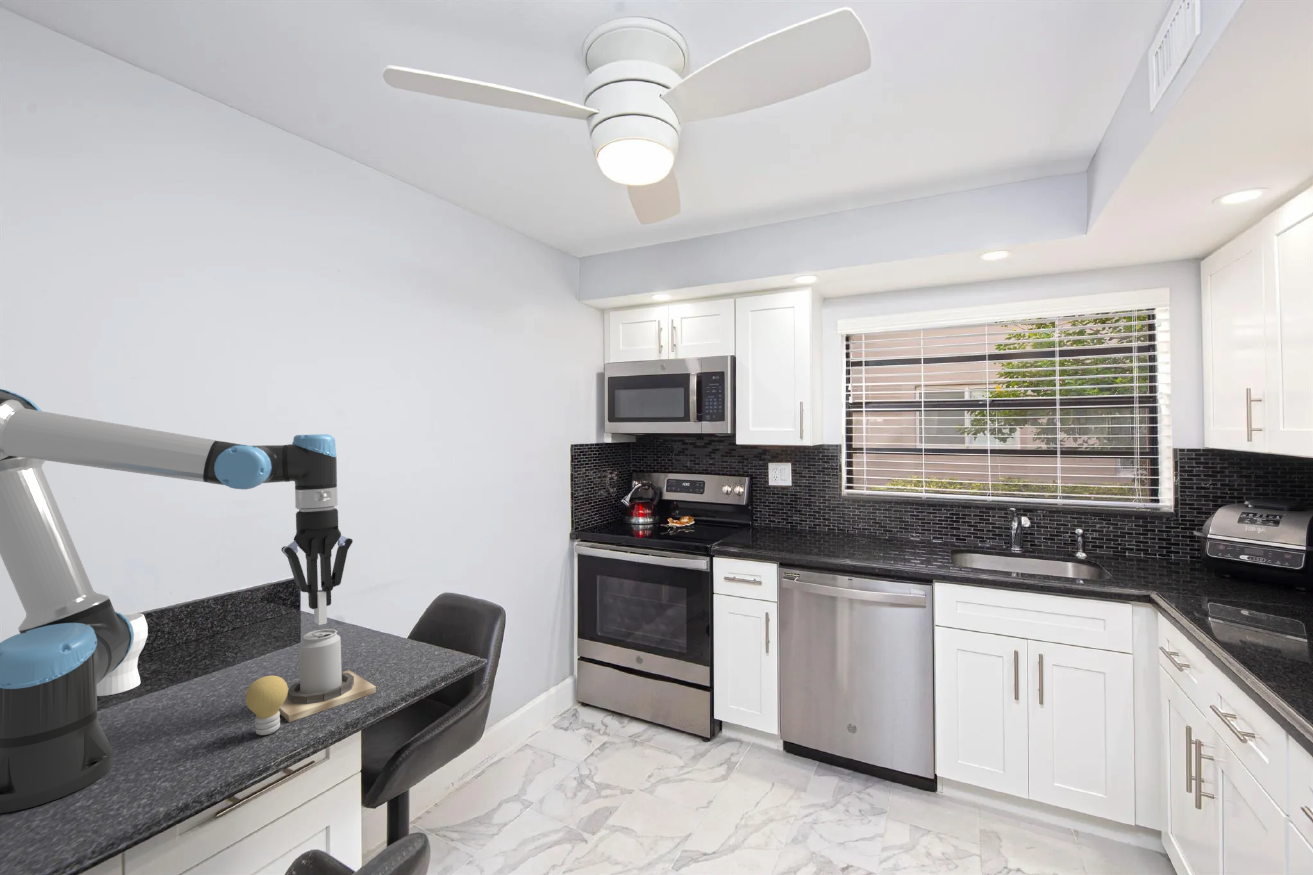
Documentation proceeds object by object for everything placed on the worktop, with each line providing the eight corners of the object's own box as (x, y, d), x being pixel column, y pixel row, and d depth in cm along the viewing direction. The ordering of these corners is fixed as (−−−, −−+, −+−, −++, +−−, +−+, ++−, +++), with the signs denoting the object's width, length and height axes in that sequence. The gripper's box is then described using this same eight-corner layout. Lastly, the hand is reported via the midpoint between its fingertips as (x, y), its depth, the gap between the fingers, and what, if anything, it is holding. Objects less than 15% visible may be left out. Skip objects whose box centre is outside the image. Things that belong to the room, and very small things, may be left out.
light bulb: (256, 744, 101) (255, 687, 101) (239, 735, 104) (238, 680, 104) (295, 728, 106) (294, 674, 106) (278, 720, 109) (277, 667, 109)
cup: (152, 687, 126) (150, 618, 126) (83, 704, 118) (81, 631, 118) (146, 674, 133) (144, 609, 133) (81, 690, 126) (79, 621, 125)
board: (289, 722, 108) (288, 707, 108) (266, 701, 118) (265, 687, 118) (376, 692, 121) (375, 679, 121) (349, 675, 130) (348, 663, 130)
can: (322, 700, 115) (320, 640, 115) (290, 697, 116) (289, 638, 116) (350, 684, 122) (348, 627, 122) (320, 681, 124) (318, 626, 124)
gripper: (287, 514, 112) (291, 635, 112) (357, 506, 122) (361, 618, 122) (274, 511, 117) (278, 627, 117) (343, 504, 126) (346, 611, 127)
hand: (320, 622), depth 119 cm, fingers closed
